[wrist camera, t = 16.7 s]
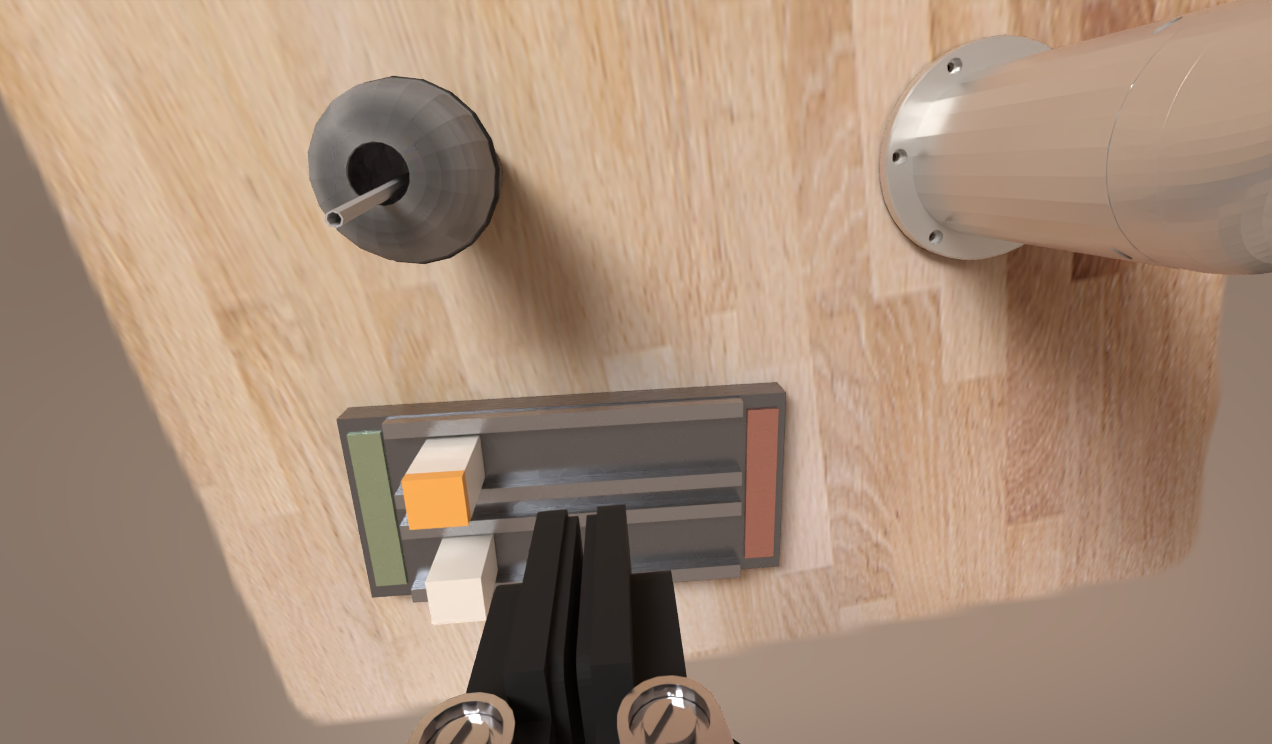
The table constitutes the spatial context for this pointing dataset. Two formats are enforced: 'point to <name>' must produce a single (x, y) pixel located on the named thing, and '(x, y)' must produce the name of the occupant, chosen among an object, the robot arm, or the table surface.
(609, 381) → the table surface
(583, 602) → the robot arm
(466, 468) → the block
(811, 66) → the table surface
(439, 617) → the block
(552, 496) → the gray rail tray
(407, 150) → the beverage cup
